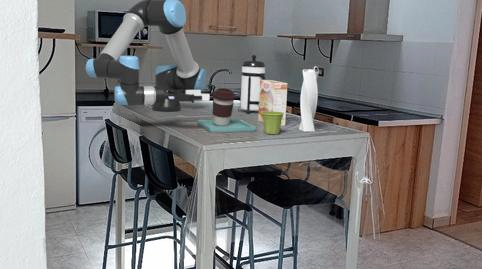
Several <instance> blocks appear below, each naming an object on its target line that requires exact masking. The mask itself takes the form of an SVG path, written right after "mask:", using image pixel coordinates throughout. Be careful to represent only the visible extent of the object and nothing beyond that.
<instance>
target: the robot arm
mask: <svg viewBox="0 0 482 269" xmlns="http://www.w3.org/2000/svg"><path fill="white" fill-rule="evenodd" d="M122 19H123V20H122V23H121V24H120V26H118V28H117V30H116V31H115V33H114V34H113V35H112V36H111V38H110V39H109V41H108V42H107V44H106V45H105V46H104V48H103V49H102V50H101V51H100V53H99V55H98V56H97V57H96V58H90V59H88V60H87V61H86V64H85V72H86V74H87V76H88V77H90V78H95V79H109V80H112V79H113V80H119V85H117V86H115V87H114V90H113V92H114V94H113V95H114V103H115V104H116V105H118V106H145V107H148V106H149V105H151V110H152V111H157V112H179V111H181V110H182V104H181V102H191V103H192V104H194V103H195V102H208V101H210V97H211V96H210V93H202V91H203V90H204V88H205V86H206V81H207V71H206V69H204V68H200V66H199V63H197V62H196V61H195V60H194V58H193V54H192V53H191V52H192V51H191V49H190V46H189V44H188V41H187V37H186V34H185V32H184V26H185V24H186V23H187V21H186V20H187V11H186V8H185V5H184V4H183V3H182V2H181V1H180V0H141V1H140V0H139V2H137V3H136V4H134V5H132V6H131V7H130V8H129V9H128V10H127V11H126V13H125V14H124V15H123V18H122ZM146 27H157V28H158V30H159V32H160V34H162V35H164V36H165V39H166V41H167V44H168V46H169V48H170V51H171V52H170V53H171V54H172V56H173V59H174V62H175V64H171V65H170V64H169V65H158V66H156V68H155V74H154V76H155V77H154V78H155V84H154V86H153V85H142V86H140V65H139V64H140V62H139V57H138V56H136V55H124V54H125V51H126V50H127V49H128V47H129V46H130V44H131V43H132V42H133V40H134V39H135V37H136V36H137V34H138V32H142V30H143V29H144V28H146Z"/></svg>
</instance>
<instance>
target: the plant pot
mask: <svg viewBox="0 0 482 269" xmlns="http://www.w3.org/2000/svg"><path fill="white" fill-rule="evenodd" d="M261 114H262V116H263V122H264V123H263V122H262V123H263V129H264V130H263V131H264V134H266V135H269V134H270V135H272V134H275V135H279V134H280V130H281V127H282V126H281V121H282V118H283V115H284V113H282V112H276V111H264V112H261Z"/></svg>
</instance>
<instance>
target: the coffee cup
mask: <svg viewBox="0 0 482 269" xmlns="http://www.w3.org/2000/svg"><path fill="white" fill-rule="evenodd" d="M236 95H237V94H235V93H234V91H233V90H232V89H231V88H230V89H229V88H225V87H221V88H217V89H216V90H214V91H213V92H212V98H213V100H212V120H213V123H214V124H216V125H219V126H226V125H228V124H229V122H230V120H231V117H232V114H233V109H234V101H235V100H236V97H237V96H236Z"/></svg>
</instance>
